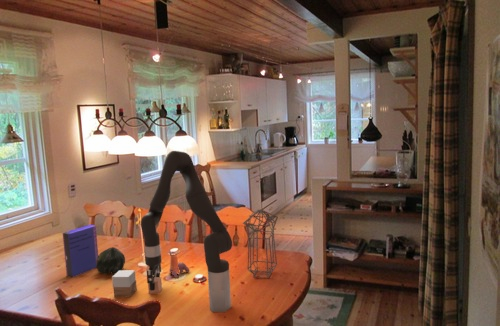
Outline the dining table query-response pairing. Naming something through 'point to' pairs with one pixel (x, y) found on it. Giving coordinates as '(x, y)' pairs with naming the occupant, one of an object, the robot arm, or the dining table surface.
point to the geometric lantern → (261, 238)
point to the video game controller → (181, 268)
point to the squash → (110, 261)
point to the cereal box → (80, 250)
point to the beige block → (156, 286)
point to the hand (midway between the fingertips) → (155, 286)
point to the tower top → (124, 278)
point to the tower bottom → (125, 290)
